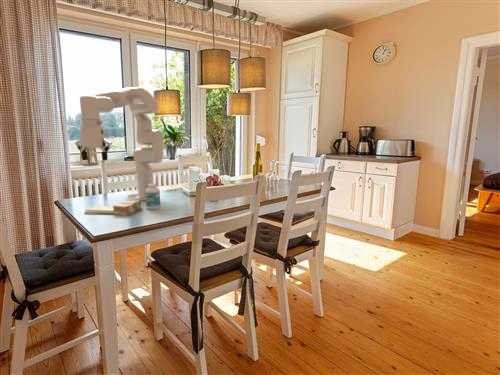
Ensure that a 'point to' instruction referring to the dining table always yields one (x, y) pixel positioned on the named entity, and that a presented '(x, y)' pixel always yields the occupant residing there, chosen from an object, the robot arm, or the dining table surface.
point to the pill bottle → (152, 197)
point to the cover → (101, 209)
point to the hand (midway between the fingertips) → (95, 160)
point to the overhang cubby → (121, 208)
